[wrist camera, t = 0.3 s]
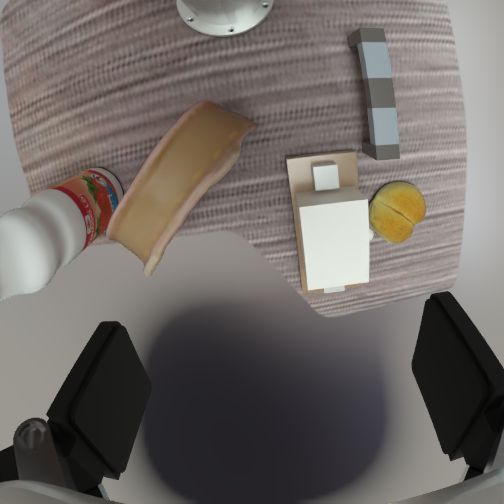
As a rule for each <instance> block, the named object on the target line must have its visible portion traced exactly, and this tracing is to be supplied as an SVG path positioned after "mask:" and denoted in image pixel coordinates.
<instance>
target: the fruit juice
mask: <svg viewBox="0 0 504 504" xmlns="http://www.w3.org/2000/svg"><path fill="white" fill-rule="evenodd" d="M122 197H123V191H122V188H121V185H120V183H119V182H118V180H117V179H116V178H115V176H114V175H113V174H111V173H110V172H109V171H107V170H105V169H102V168H88V169H85V170H83V171H80V172H78V173H76V174H74V175H72V176H70V177H68V178H66V179H64V180H62V181H60V182H58V183H56V184H54V185H52V186H50V187H48V188H46V189H44V190H42V191H40V192H38V193H36V194H35V195H33V196H32V197H30V198H29V199H28V200H26V201H25V202H24V203H23V204H22V205H21V207H20V208H16V209H12V210H9V211H7V212H5V213H4V214H2V215H1V216H0V301H1V300H4V299H6V298H9V297H12V296H15V295H18V294H30V293H34V292H37V291H39V290H41V289H42V288H44V287H45V286H46V285H47V284H48V283H49V282H50V281H51V280H52V278H53V277H54V275H55V273H56V271H57V270H58V269H61V268H63V267H65V266H66V265H68V264H69V263H70V262H72V261H73V260H74V259H75V258H76V257H77V256H78V255H79V254H80V253H81V252H82V251H83V250H84V249H85V248H86V247H88V246H89V245H90V244H91V243H92V242H93V241H94V240H95V239H96V238H97V237H98V236H99V235H100V234H102V233H103V232H104V231H105V230H106V229H107V227H108V224H109V221H110V219H111V217H112V215H113V213H114V211H115V209H116V207H117V206H118V204H119V202H120V201H121V199H122Z"/></svg>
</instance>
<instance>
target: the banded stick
mask: <svg viewBox="0 0 504 504" xmlns="http://www.w3.org/2000/svg"><path fill="white" fill-rule="evenodd" d="M347 40H348V45H349V48H358V52H359V58H360V64H361V70H362V76H363V81H364V88H365V96H366V103H367V114H368V123H369V132H370V141H363V142H362V147H363V153H365V154H367V155H368V156H370V157H372V158H374V159H375V160H389V159H400V154H399V135H398V123H397V113H396V105H395V97H394V88H393V81H392V73H391V66H390V60H389V54H388V48H387V43H386V38H385V33H384V29H382V28H359V29H357V30H356V31H355V32H353V33H352V34H351V35H350V36H348V37H347Z"/></svg>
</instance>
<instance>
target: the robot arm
mask: <svg viewBox="0 0 504 504" xmlns="http://www.w3.org/2000/svg"><path fill="white" fill-rule="evenodd" d="M273 4H274V0H176V6H177V9H178V12H179V14H180V16H181V18H182V19H183V20H184V21H185V23H186V24H187V25H188V26H190V27H191V28H192V29H194V30H195V31H197V32H199V33H202V34H204V35H207V36H213V37H232V36H237V35H240V34H244V33H246V32H248V31H250V30H252V29H254V28H255V27H257V26H258V25H259V24H261V23H262V22H263V21H264V20H265V19H266V17H267V16H268V14H269V13H270V11H271V9H272V7H273ZM264 6H268V7H267V8H264ZM192 19H194V21H193V22H190V21H191V20H192ZM231 29H233V30H234V31H233V32H230V30H231ZM412 371H413V374H414V377H415V379H416V381H417V384H418V386H419V389H420V391H421V394H422V396H423V399H424V402H425V404H426V407H427V409H428V412H429V415H430V417H431V420H432V423H433V425H434V428H435V431H436V434H437V437H438V440H439V442H440V445H441V448H442V451H443V452H444V454H448V455H449V458H450V461H453V460H456V459H458V458H461V457H464V459H465V462H466V467H465V469H464V472H463V474H462V476H461V478H460V481H459V483H458V484H455V485H452V486H449V487H446V488H443V489H440V490H437V491H433V492H430V493H427V494H423V495H420V496H416V497H412V498H409V499H405V500H401V501H397V502H393V503H388V504H504V369H503V367H502V365H501V364H500V362H499V360H498V359H497V357H496V356H495V355H494V353H493V351H492V350H491V348H490V347H489V345H488V344H487V342H486V341H485V339H484V338H483V336H482V335H481V333H479V331H478V329H477V328H476V326H475V325H474V324H473V322H472V321H471V319H470V318H469V317H468V315H467V314H466V312H465V311H464V310H463V308H462V307H461V306H460V304H459V303H458V302H457V300H456V299H455V298H454V297H453V295H452V294H451V293H450V292H448V291H446V292H440V293H434V294H431V296H430V299H427V300H426V302H425V306H424V311H423V316H422V321H421V326H420V330H419V334H418V339H417V344H416V347H415V352H414V355H413V359H412ZM150 393H151V382H150V380H149V378H148V376H147V374H146V372H145V370H144V367H143V365H142V363H141V361H140V359H139V357H138V355H137V352H136V350H135V348H134V346H133V344H132V341H131V339H130V337H129V334H128V332H127V330H126V328H125V327H124V326H122V325H121V324H120V323H119V322H117V321H105V322H101V323H100V324H99V325H98V327H97V329H96V330H95V332H94V334H93V335H92V337H91V338H90V340H89V341H88V343H87V345H86V346H85V348H84V349H83V351H82V353H81V354H80V356H79V358H78V359H77V361H76V363H75V364H74V366H73V368H72V369H71V371H70V373H69V374H68V376H67V378H66V380H65V381H64V383H63V385H62V387H61V388H60V390H59V392H58V394H57V395H56V397H55V399H54V401H53V403H52V404H51V406H50V408H49V410H48V412H47V414H46V415H47V416H48V417H49V420H48V421H47V422H46V421H45V420H44V419H41V418H30V419H27V420H26V421H24V422H23V423H21V424H20V426H18V428H17V430H16V431H15V434H14V437H13V445H12V446H10V447H8V448H6V449H4V450H2V451H0V504H123V503H119V502H115V501H110V499H109V497H108V495H107V493H106V491H105V489H104V486H103V485H102V479H103V476H104V477H107V478H112V479H116V480H119V477H120V473H123V472H124V471H125V469H126V466H127V463H128V460H129V457H130V453H131V451H132V447H133V444H134V441H135V438H136V435H137V432H138V429H139V426H140V423H141V420H142V417H143V414H144V411H145V408H146V405H147V402H148V399H149V396H150Z"/></svg>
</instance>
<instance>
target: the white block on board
mask: <svg viewBox="0 0 504 504" xmlns="http://www.w3.org/2000/svg"><path fill="white" fill-rule="evenodd" d="M286 163H287V170H288V177H289V185H290V192H291V200H292V207H293V215H294V223H295V231H296V240H297V248H298V257H299V266H300V275H301V285H302V292H303V294H308V293H316V292H323V291H324V293H331V292H338V291H345V288H352V287H359V286H361V283H365V282H369V242H370V241H371V240H372V239H373V236H374V233H373V231H372V229H371V228H369V213H368V199H367V198H366V197H365V196H364V195H363V194H362V193H361V192H360V191H359V184H358V170H357V158H356V152H355V151H353V150H343V151H333V152H323V153H314V154H305V155H297V156H289V157H286Z"/></svg>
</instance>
